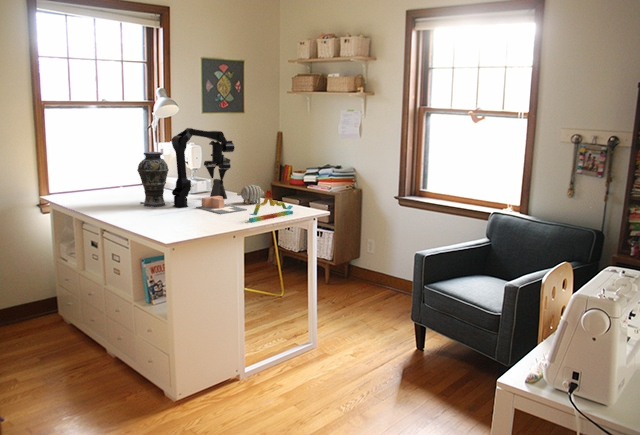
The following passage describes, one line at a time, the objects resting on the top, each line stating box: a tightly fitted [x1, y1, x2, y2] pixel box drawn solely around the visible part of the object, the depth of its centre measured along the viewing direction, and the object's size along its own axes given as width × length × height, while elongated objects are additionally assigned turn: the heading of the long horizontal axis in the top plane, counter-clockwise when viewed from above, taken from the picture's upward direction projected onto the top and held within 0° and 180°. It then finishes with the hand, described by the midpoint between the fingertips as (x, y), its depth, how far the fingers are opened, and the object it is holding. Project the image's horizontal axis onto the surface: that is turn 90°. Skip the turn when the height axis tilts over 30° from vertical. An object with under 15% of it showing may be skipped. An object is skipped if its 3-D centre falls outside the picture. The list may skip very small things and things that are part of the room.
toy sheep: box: [236, 184, 265, 205], centre depth 354 cm, size 11×17×11 cm, turn 123°
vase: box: [137, 151, 169, 208], centre depth 339 cm, size 17×17×30 cm
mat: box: [196, 203, 248, 215], centre depth 336 cm, size 18×23×1 cm
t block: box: [201, 196, 225, 208], centre depth 339 cm, size 12×10×5 cm
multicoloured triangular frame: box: [248, 189, 294, 223], centre depth 315 cm, size 30×3×15 cm, turn 141°
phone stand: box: [209, 178, 228, 200], centre depth 366 cm, size 9×6×12 cm, turn 137°
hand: (217, 179), depth 353 cm, fingers open, 9 cm apart
